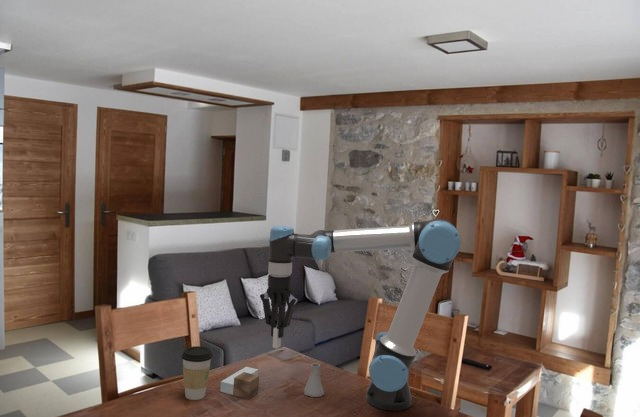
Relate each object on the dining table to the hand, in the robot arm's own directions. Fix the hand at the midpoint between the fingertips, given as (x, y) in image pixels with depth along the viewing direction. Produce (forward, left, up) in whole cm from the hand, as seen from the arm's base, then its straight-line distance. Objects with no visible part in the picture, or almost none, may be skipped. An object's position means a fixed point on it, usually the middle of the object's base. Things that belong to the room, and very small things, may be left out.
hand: (276, 346), depth 173 cm
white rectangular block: (+16, -5, -18) cm, 25 cm away
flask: (-9, -13, -18) cm, 24 cm away
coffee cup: (+23, +10, -18) cm, 31 cm away
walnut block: (+10, 0, -18) cm, 21 cm away
